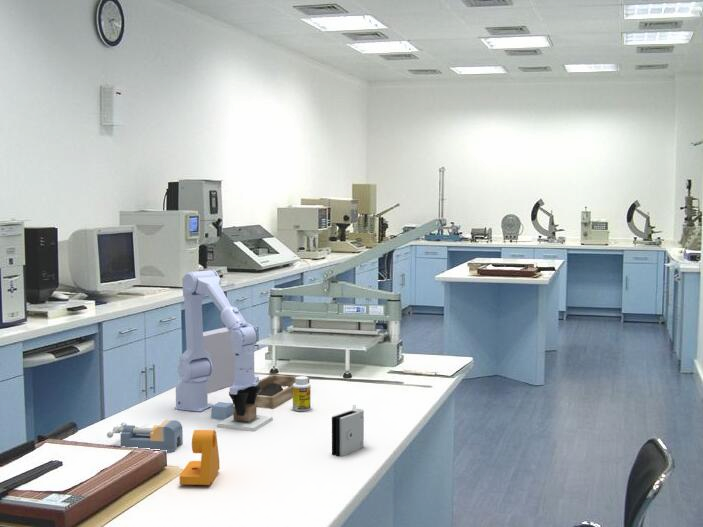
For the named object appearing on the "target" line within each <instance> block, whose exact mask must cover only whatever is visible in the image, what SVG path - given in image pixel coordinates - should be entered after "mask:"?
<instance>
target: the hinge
mask: <svg viewBox="0 0 703 527" xmlns="http://www.w3.org/2000/svg"><path fill="white" fill-rule="evenodd" d="M356 407H357V405H356V404H353V405H352V408H351V409H350V410H347V411H344V412H341V413H337V414H334V415H332V416H331V455H332V456H336V457H344V456H346V455H349V454H351V453H353V452H356V451H359V450H361V449H362V448H364V443H365V442H364V438H365V433H364V432H365V431H364V428H365V427H364V425H365V420H364V419H365V418H364V416H365V415H364V411H365V410H364V409H363V408H356Z"/></svg>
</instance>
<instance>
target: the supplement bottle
mask: <svg viewBox="0 0 703 527" xmlns="http://www.w3.org/2000/svg"><path fill="white" fill-rule="evenodd" d="M295 377H296V378H295V383H294V384H293V398H292V409H293V410H294V411H295V412H307V411H309V410H310V409H311V383H310V382H309V383H308V378H309V377H308V376H304V375H303V376H302V375H301V376H295Z"/></svg>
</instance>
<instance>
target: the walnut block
mask: <svg viewBox="0 0 703 527" xmlns="http://www.w3.org/2000/svg"><path fill="white" fill-rule="evenodd" d="M256 415H257V407H256V404H249V403H246V405H245V414H244V416H239V415H237V413H236V410H235V406H234V420H238V421H247V422H249V421H251V420H253V419H255V418H256Z"/></svg>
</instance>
